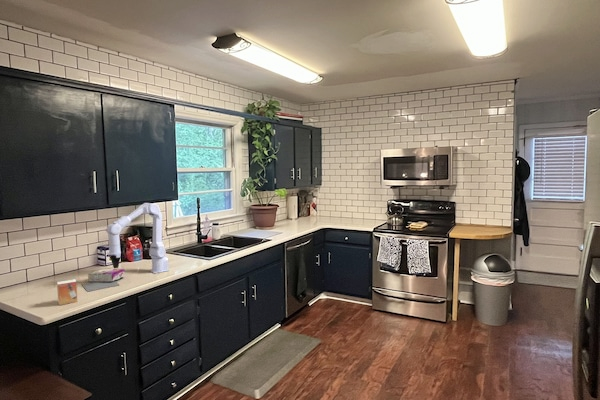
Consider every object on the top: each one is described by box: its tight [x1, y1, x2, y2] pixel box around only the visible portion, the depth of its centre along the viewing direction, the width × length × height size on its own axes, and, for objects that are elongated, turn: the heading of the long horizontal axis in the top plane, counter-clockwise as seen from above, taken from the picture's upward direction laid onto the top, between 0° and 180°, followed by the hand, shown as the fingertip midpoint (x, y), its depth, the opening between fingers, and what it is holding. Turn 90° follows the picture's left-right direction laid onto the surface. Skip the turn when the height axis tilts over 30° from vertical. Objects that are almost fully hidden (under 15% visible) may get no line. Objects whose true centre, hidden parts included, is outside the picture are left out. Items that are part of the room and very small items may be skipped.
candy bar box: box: [87, 268, 126, 283], centre depth 221 cm, size 11×5×16 cm
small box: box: [56, 278, 78, 306], centre depth 185 cm, size 8×6×10 cm
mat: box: [81, 280, 120, 293], centre depth 212 cm, size 16×16×1 cm
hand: (115, 267), depth 216 cm, fingers closed
